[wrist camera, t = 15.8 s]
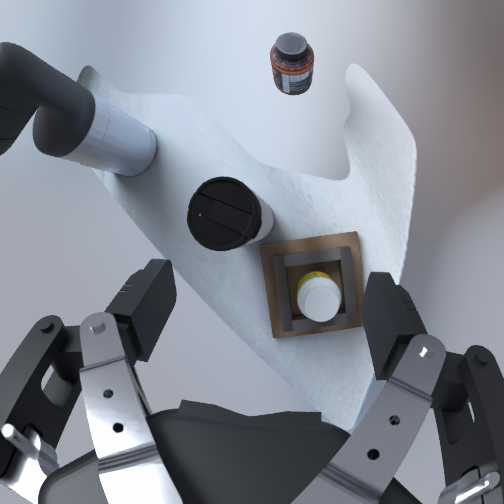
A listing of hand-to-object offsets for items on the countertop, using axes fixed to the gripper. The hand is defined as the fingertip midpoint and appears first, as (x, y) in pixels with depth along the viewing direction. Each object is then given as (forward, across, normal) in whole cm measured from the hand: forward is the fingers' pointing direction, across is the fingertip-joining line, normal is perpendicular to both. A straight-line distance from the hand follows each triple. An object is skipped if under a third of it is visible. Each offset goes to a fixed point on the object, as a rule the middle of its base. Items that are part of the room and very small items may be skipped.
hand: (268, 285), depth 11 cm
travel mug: (+30, +4, +10) cm, 32 cm away
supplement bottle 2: (+25, -6, +18) cm, 31 cm away
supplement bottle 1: (+39, -2, -11) cm, 41 cm away
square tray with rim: (+26, -6, +18) cm, 32 cm away
